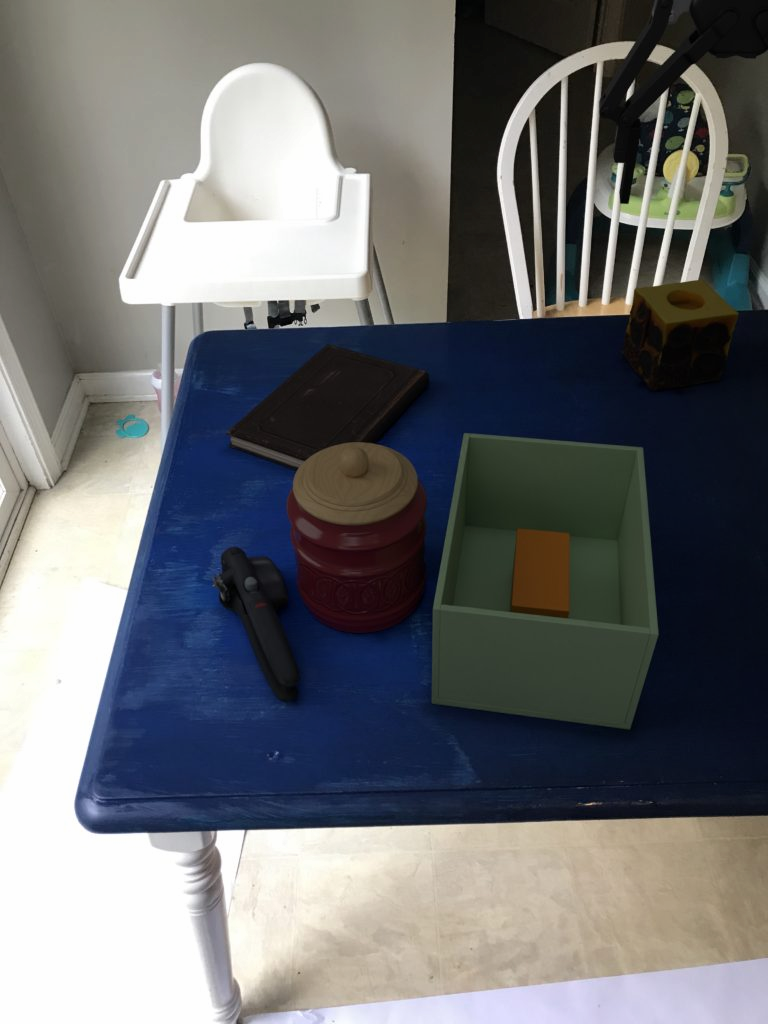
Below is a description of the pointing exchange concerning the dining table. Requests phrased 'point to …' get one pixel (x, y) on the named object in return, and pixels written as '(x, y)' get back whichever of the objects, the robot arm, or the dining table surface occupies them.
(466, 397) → the dining table surface
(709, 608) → the dining table surface
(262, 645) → the can opener
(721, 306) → the cube with round hole
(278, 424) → the hardcover book
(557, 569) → the block
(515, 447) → the bin
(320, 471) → the kitchen canister
